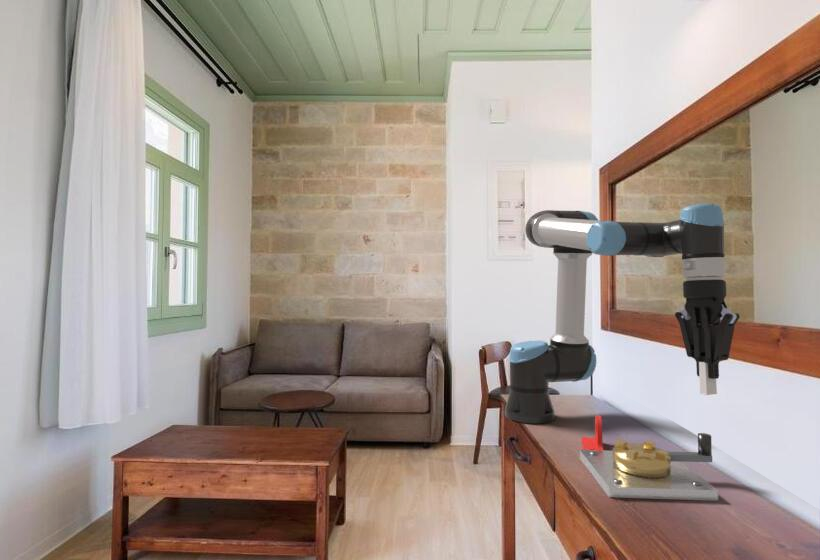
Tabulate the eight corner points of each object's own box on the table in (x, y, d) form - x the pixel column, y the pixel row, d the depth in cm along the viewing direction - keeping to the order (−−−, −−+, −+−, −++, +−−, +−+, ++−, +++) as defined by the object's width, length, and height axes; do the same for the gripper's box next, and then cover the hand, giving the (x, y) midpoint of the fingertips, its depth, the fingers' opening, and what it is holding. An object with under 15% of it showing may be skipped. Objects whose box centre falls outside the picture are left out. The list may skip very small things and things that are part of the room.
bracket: (581, 441, 120) (581, 411, 120) (599, 442, 119) (599, 412, 119) (584, 457, 109) (584, 424, 109) (605, 459, 107) (604, 426, 107)
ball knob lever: (624, 476, 92) (623, 441, 92) (605, 456, 103) (605, 425, 103) (726, 479, 90) (726, 444, 90) (696, 458, 101) (696, 427, 101)
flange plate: (579, 458, 108) (579, 448, 108) (667, 460, 106) (667, 450, 106) (609, 497, 88) (609, 485, 88) (718, 500, 86) (717, 488, 86)
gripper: (663, 280, 99) (667, 389, 98) (719, 277, 87) (724, 402, 86) (690, 280, 101) (694, 386, 100) (748, 277, 89) (754, 399, 88)
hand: (708, 393), depth 93 cm, fingers closed
